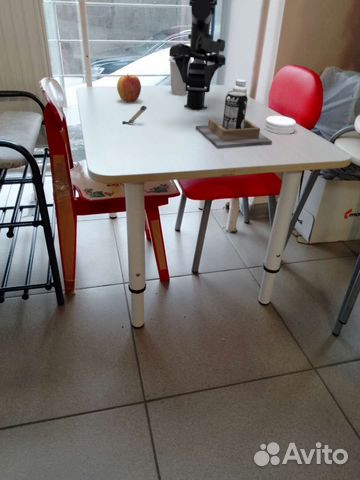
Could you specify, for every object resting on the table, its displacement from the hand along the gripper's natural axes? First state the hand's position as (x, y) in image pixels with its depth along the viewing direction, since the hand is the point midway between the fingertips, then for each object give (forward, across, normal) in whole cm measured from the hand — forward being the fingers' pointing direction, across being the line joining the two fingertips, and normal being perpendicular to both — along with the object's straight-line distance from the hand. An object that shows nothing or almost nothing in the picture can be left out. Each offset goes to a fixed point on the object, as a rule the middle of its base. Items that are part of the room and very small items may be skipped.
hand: (196, 85), depth 115 cm
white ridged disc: (+12, +26, -15) cm, 32 cm away
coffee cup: (-2, +21, +38) cm, 44 cm away
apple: (+4, -4, +36) cm, 37 cm away
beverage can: (+14, +6, -12) cm, 20 cm away
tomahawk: (+11, -10, +18) cm, 23 cm away
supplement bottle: (+3, +31, +12) cm, 34 cm away
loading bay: (+15, +6, -12) cm, 21 cm away
